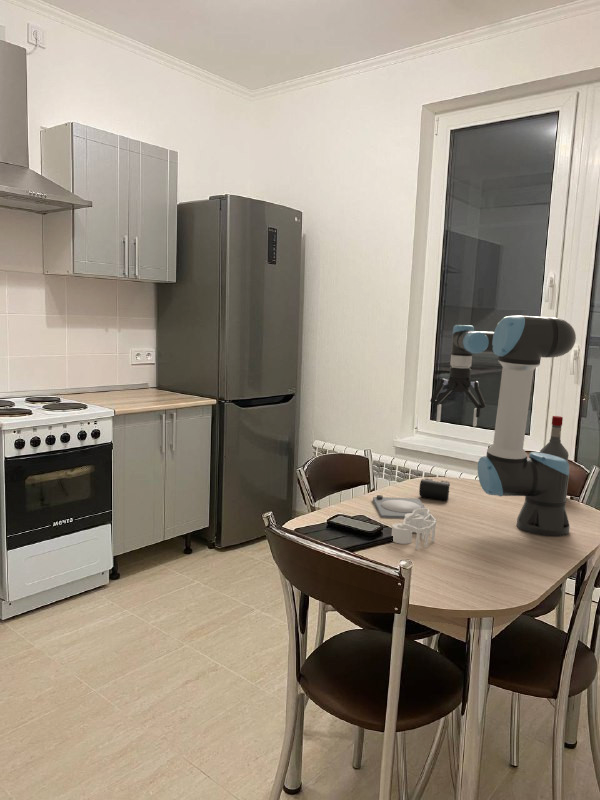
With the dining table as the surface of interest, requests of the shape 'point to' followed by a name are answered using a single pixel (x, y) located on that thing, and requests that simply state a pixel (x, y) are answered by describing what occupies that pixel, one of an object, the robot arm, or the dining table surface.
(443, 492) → the end cap
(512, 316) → the robot arm
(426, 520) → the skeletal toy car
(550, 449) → the liquor
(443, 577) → the dining table surface
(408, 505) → the plate
